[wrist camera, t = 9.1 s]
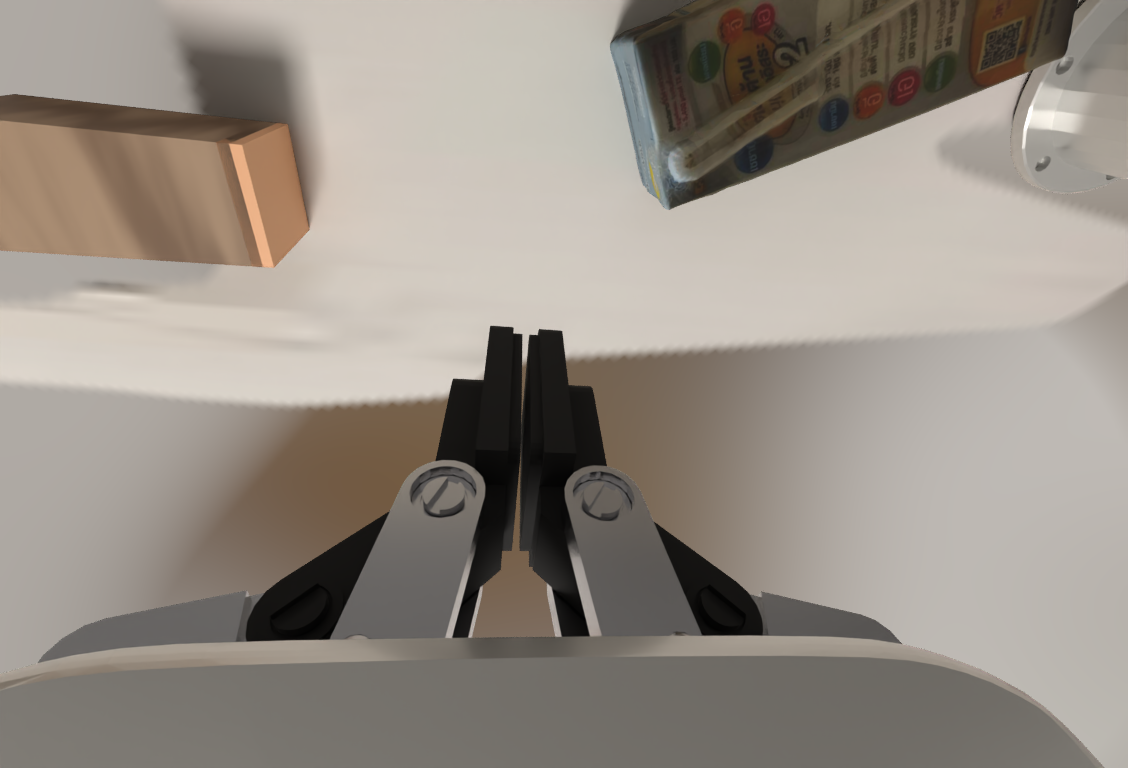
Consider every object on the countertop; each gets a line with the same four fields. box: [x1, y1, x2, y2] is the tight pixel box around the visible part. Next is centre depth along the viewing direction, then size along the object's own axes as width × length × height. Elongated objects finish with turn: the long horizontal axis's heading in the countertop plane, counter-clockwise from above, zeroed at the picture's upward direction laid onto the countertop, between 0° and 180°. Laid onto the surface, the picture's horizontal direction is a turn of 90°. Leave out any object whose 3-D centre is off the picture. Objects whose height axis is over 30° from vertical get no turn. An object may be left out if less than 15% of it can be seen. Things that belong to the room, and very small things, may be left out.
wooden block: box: [0, 94, 309, 268], centre depth 23 cm, size 6×6×12 cm
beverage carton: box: [610, 0, 1078, 210], centre depth 22 cm, size 8×19×7 cm, turn 110°
